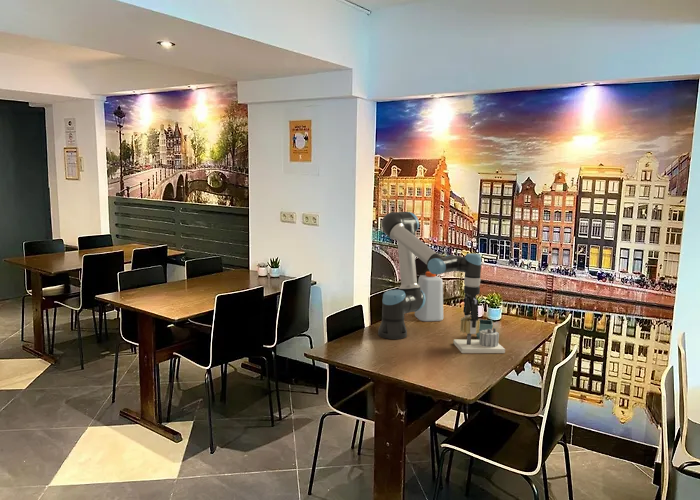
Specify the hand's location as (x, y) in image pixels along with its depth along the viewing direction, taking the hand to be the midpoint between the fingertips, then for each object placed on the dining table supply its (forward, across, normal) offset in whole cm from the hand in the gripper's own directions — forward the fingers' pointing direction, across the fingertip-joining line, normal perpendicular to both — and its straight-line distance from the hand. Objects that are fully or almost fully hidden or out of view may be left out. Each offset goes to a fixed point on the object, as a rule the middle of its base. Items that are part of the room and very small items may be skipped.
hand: (469, 330), depth 256 cm
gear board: (+9, 0, -5) cm, 10 cm away
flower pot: (+9, +16, -12) cm, 22 cm away
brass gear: (0, 0, 0) cm, 0 cm away
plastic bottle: (+9, +55, +8) cm, 56 cm away
